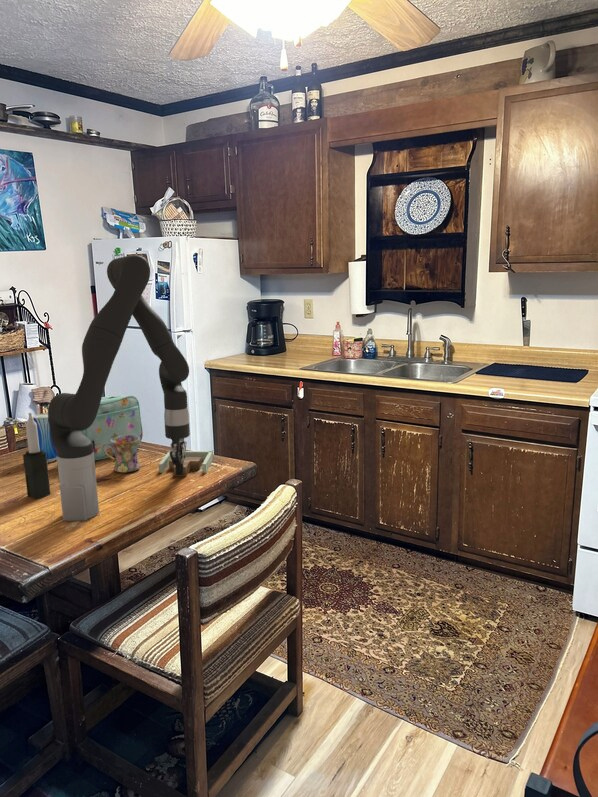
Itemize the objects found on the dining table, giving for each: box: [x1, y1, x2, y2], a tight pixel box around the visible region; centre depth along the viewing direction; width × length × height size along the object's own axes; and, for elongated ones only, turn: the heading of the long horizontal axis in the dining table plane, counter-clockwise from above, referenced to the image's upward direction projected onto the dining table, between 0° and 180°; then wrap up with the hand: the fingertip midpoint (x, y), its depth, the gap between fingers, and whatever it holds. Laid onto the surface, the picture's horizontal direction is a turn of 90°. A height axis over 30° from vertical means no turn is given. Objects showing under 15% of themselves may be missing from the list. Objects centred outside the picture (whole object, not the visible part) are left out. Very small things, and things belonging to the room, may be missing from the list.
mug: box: [102, 435, 141, 474], centre depth 193 cm, size 12×9×11 cm
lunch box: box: [82, 394, 144, 461], centre depth 210 cm, size 27×10×21 cm, turn 147°
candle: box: [22, 412, 51, 500], centre depth 171 cm, size 5×5×25 cm
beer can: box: [32, 412, 57, 463], centre depth 204 cm, size 8×8×16 cm
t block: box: [168, 457, 203, 477], centre depth 193 cm, size 10×10×3 cm
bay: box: [158, 450, 214, 474], centre depth 198 cm, size 14×15×3 cm
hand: (179, 474), depth 186 cm, fingers closed
